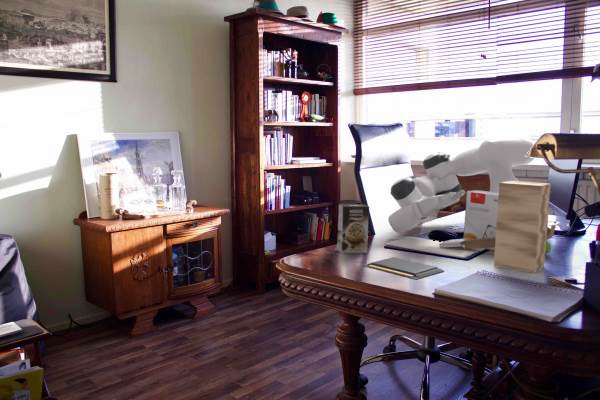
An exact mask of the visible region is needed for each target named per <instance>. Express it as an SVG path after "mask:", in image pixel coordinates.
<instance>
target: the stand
mask: <svg viewBox="0 0 600 400" xmlns="http://www.w3.org/2000/svg"><path fill="white" fill-rule="evenodd" d="M551 186H552V184H551V183H544V182H533V181H531V182H530V181H507V182H501V183H499V196H498V211H497V226H496V240H495V251H494V255H493V257H494V258H493V267H498V268H504V269H510V270H515V271H520V272H526V273H532V274H535V273H537V272H539V271H540V270H542V269H543V268H545V261H546V255H545V250H546V237H547V227H548V222H549V211H550V198H551Z"/></svg>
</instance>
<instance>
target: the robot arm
mask: <svg viewBox="0 0 600 400" xmlns="http://www.w3.org/2000/svg"><path fill="white" fill-rule="evenodd" d="M533 145H534V144H533V143H532V142H531V141H529V140H526V139H522V138H492V139H488V140H485V141H483V142H482V143H481V144H480V145H479V146H478V147H474V148H472V149H469V150H466V151H463V152H460V153H459V154H457V155H456V156H454V157H453V158H450V157H451V155H450V154H446V153H444V152H432V153H430V154H429V155H428V156H426V157H425V158H424V159H423V161H422V165H423V169H424V170H425V171H426V174H427V175H423V176H422V175H421V176H420V177H418V176H417V175H409V176H407V177H402V178H400V179H398V180H397V181H395V182H394V183H393V184H392V185H391V188H390V195H391V196H392V197H393V199H394V200H395V201H396V203H397V204H398V206H399V207H400V208H399V209H397V210H396V211H394V212H393V213H391V214H389V216H388V223H389V225H390V227H391V229H392V230H393V231H394V232H395V233H397V234H401V233H405V232H407V231H411V230H412V229H414V228H417V227H419V226H421V225H423V224H425V223H427V222H429V221H433V219H436V218H437V216H438V214H439V211H440V210H441V209H445V208H447V207H450V206H452V205H455V204H457V203H458V202H459V201H460V200H461V199H460V198H461V197H463V196H464V195H466V192H465V190H464V189H462V185H461V183H460V182H459V179H458V177H457V176H460V177H467V176H468V177H469V176H476V175H478V174H483V173H488V176H489V183H490V186H489V192H497V193H499V183H501V182H507V181H519V179H518V178H517V177H516V176H515V175H514V172H513V168H516V167H519V166H524V165H527V164H530V163H532V162H533V160H534V159H535V157H534V158H530V157H525V155H526V154H527V152H528V151H529V150H530V148H531V147H532V146H533Z"/></svg>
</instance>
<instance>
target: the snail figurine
mask: <svg viewBox="0 0 600 400" xmlns="http://www.w3.org/2000/svg"><path fill="white" fill-rule="evenodd" d="M553 223H554V224H552V225H550V228H549V227H548V226H547V237H546V250H545V256H546V255H548V254H549V253H550V252H551V251H552V245H551V243H550V242H549V240H550V239H551V238H552V237H553V235H554V233H555V229H556V225H557V224H556V223H557V221H553Z"/></svg>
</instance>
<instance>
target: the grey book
mask: <svg viewBox="0 0 600 400" xmlns="http://www.w3.org/2000/svg"><path fill="white" fill-rule="evenodd" d="M362 267H363V268H364V267H366V268H368V269H372V270H376V271H380V272H384V273H388V274H392V275H396V276H399V277H403V278H408V279H411V280H414V281H417V280H421V279H422V280H423V279H424V278H428V277H431V276H435V275H439V274H442V273H444V272H445V270H444V269H442V268H440V267H438V266H436V265H435V266H434V265H431V264H426V263H421V262H417V261H413V260H408V259H404V258H399V257H396V256H394V257H388V258H385V259H380V260H377V261H373V262H369V263H367V264H364V265H362Z"/></svg>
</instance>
